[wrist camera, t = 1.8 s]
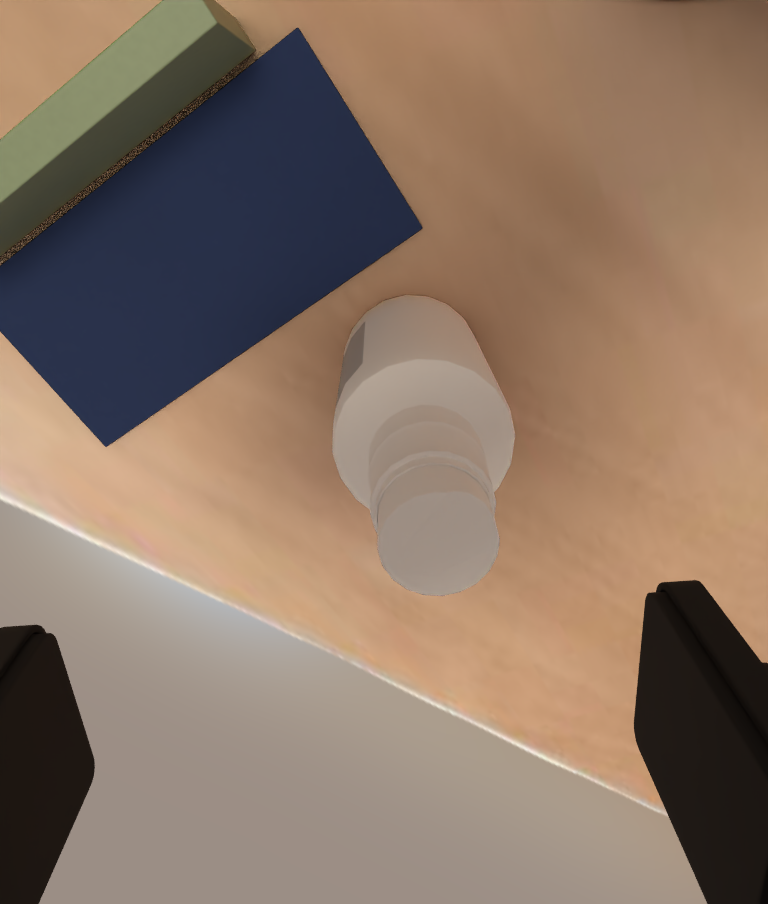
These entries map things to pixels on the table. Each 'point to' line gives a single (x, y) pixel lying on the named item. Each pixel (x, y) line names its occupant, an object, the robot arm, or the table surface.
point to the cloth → (203, 244)
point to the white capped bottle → (423, 442)
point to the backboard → (113, 108)
